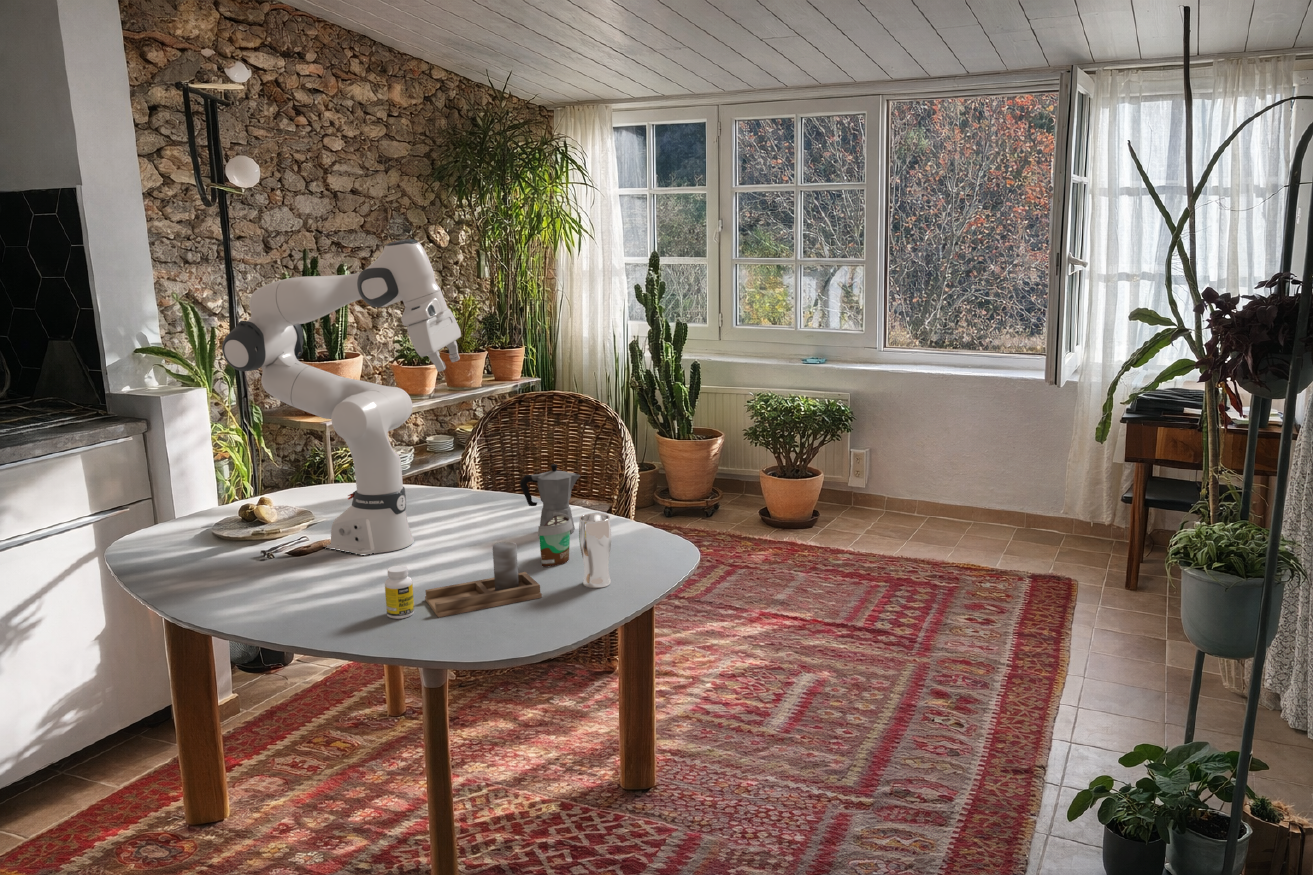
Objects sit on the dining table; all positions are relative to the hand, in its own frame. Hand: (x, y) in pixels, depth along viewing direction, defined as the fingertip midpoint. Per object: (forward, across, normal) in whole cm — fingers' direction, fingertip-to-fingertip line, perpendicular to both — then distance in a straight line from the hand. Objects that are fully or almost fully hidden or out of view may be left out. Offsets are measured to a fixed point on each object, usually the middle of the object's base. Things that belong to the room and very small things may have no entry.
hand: (449, 365), depth 221 cm
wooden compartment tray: (+45, +31, +1) cm, 55 cm away
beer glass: (+53, +20, +22) cm, 61 cm away
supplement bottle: (+41, +41, -12) cm, 59 cm away
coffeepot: (+51, -16, +3) cm, 53 cm away
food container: (+51, +6, +11) cm, 52 cm away
